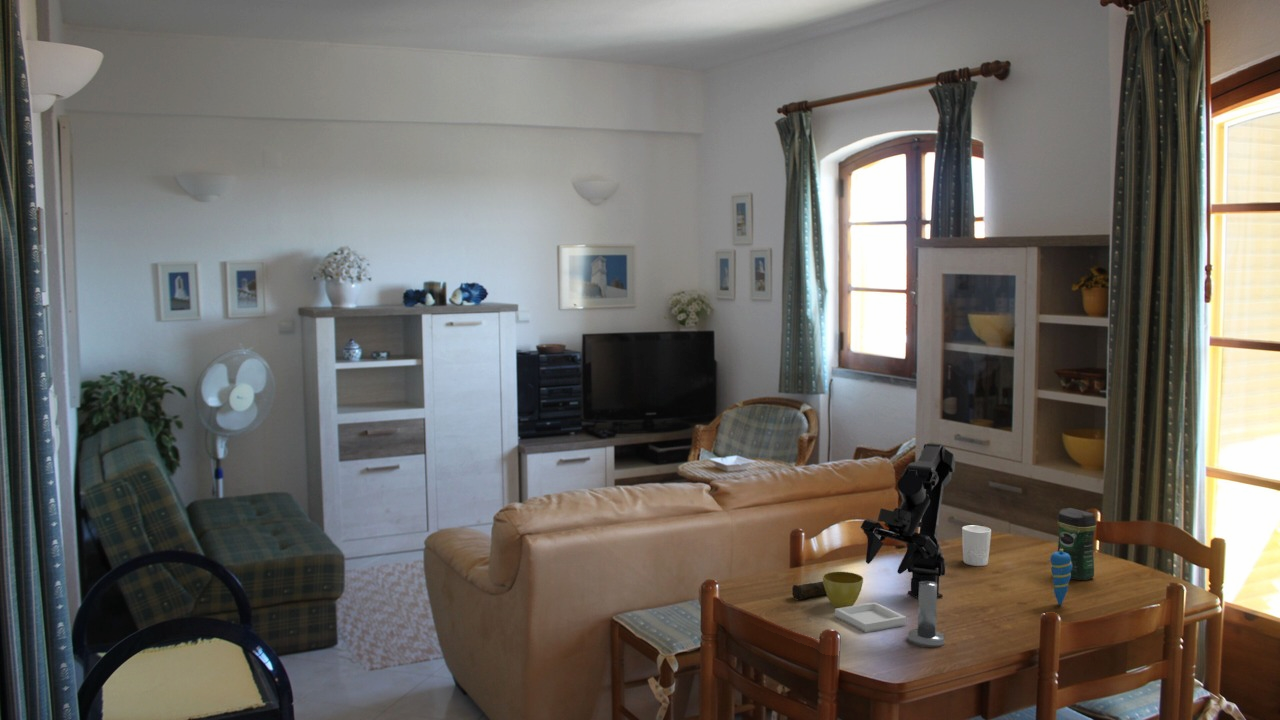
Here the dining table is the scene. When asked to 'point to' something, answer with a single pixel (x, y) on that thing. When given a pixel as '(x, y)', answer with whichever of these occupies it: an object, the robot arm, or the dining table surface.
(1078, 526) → the coffee jar
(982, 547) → the white cup
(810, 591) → the hand tool
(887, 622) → the tray
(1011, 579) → the dining table surface
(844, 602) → the flower pot
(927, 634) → the steel stop
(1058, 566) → the ornament
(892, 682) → the dining table surface
